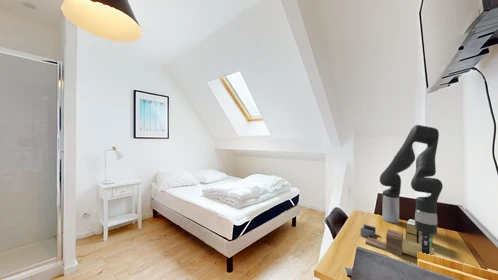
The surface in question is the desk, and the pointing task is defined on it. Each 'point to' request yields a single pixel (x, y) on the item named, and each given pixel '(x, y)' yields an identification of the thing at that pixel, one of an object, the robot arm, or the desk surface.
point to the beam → (389, 242)
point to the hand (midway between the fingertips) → (425, 257)
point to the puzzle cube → (413, 232)
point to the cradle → (368, 231)
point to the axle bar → (413, 248)
